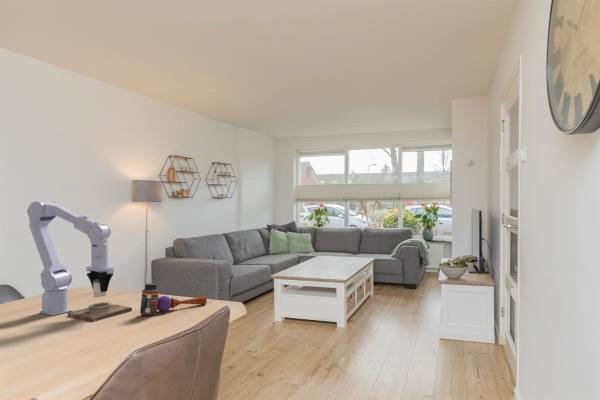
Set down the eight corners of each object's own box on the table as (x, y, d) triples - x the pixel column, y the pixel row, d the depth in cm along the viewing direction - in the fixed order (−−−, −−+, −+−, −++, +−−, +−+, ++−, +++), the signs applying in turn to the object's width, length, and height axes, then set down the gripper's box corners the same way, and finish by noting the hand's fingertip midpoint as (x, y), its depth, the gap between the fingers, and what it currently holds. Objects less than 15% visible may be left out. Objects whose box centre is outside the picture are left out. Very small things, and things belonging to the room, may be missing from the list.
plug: (91, 296, 152) (90, 280, 152) (101, 293, 156) (101, 278, 156) (98, 297, 150) (97, 281, 150) (108, 294, 154) (108, 279, 153)
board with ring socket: (67, 315, 150) (67, 307, 150) (106, 305, 164) (106, 298, 164) (93, 321, 142) (92, 312, 142) (131, 310, 156) (131, 302, 156)
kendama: (208, 296, 161) (158, 300, 149) (206, 310, 162) (157, 315, 150) (203, 290, 166) (154, 294, 154) (201, 304, 166) (152, 308, 155)
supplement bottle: (150, 316, 145) (153, 285, 146) (136, 314, 147) (139, 284, 148) (159, 313, 151) (162, 283, 152) (146, 311, 153) (148, 282, 154)
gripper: (78, 256, 153) (79, 291, 153) (101, 258, 146) (101, 295, 146) (95, 254, 159) (96, 287, 159) (118, 255, 152) (119, 291, 152)
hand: (100, 291), depth 153 cm, fingers closed on plug, 4 cm apart
